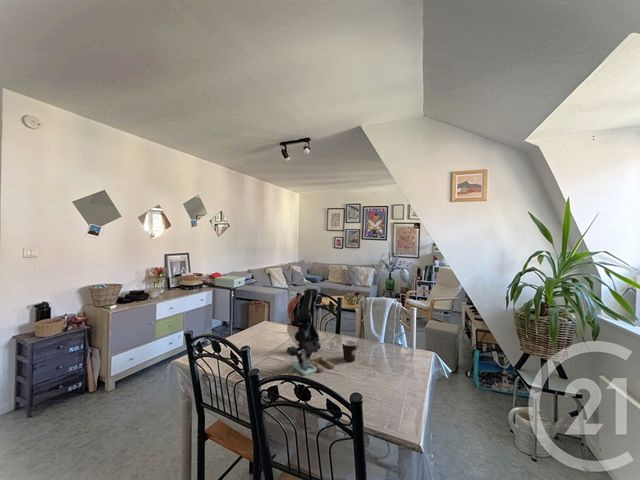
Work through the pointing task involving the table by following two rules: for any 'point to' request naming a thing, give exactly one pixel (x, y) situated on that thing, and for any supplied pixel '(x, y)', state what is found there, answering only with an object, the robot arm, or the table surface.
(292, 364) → the pale teal tray
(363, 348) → the table surface
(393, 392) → the table surface
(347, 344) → the coffee mug
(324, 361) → the socket
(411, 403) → the table surface
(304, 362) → the grey rectangular block
